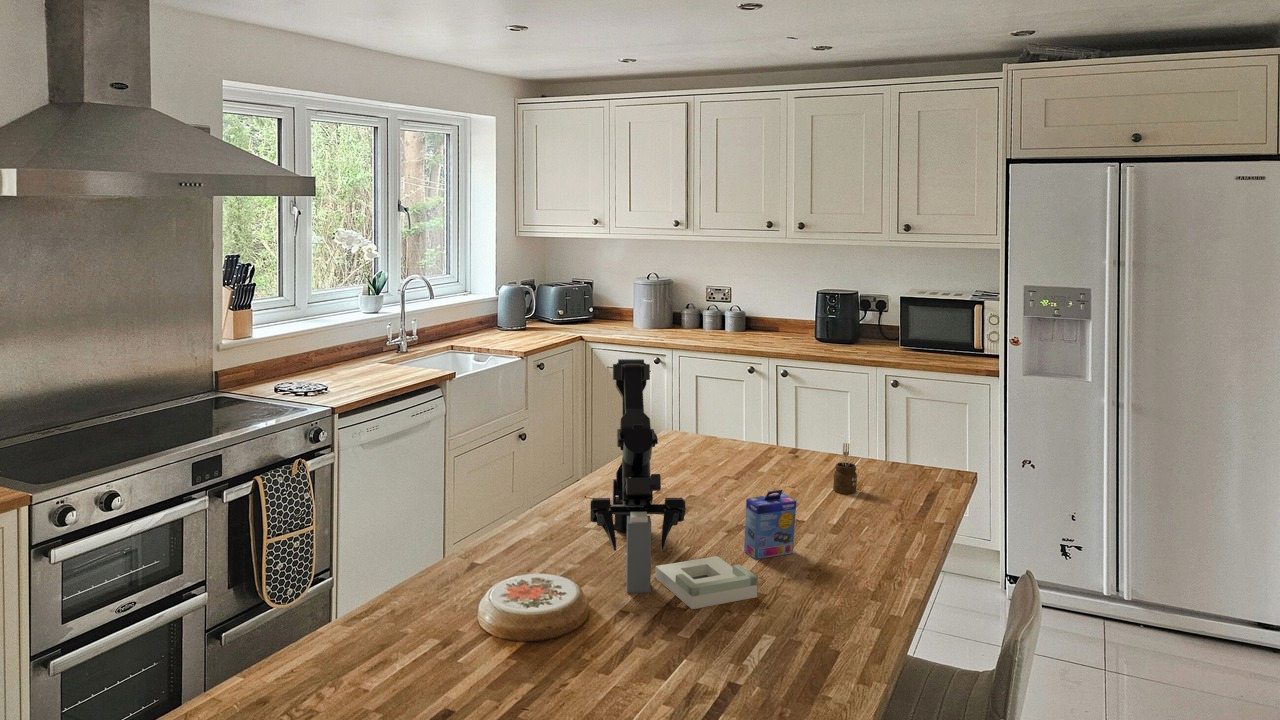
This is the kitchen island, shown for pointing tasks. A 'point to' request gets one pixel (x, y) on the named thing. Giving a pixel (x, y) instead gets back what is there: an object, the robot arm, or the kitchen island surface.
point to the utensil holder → (845, 476)
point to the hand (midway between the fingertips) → (638, 549)
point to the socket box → (707, 581)
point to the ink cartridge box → (769, 525)
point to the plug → (638, 553)
